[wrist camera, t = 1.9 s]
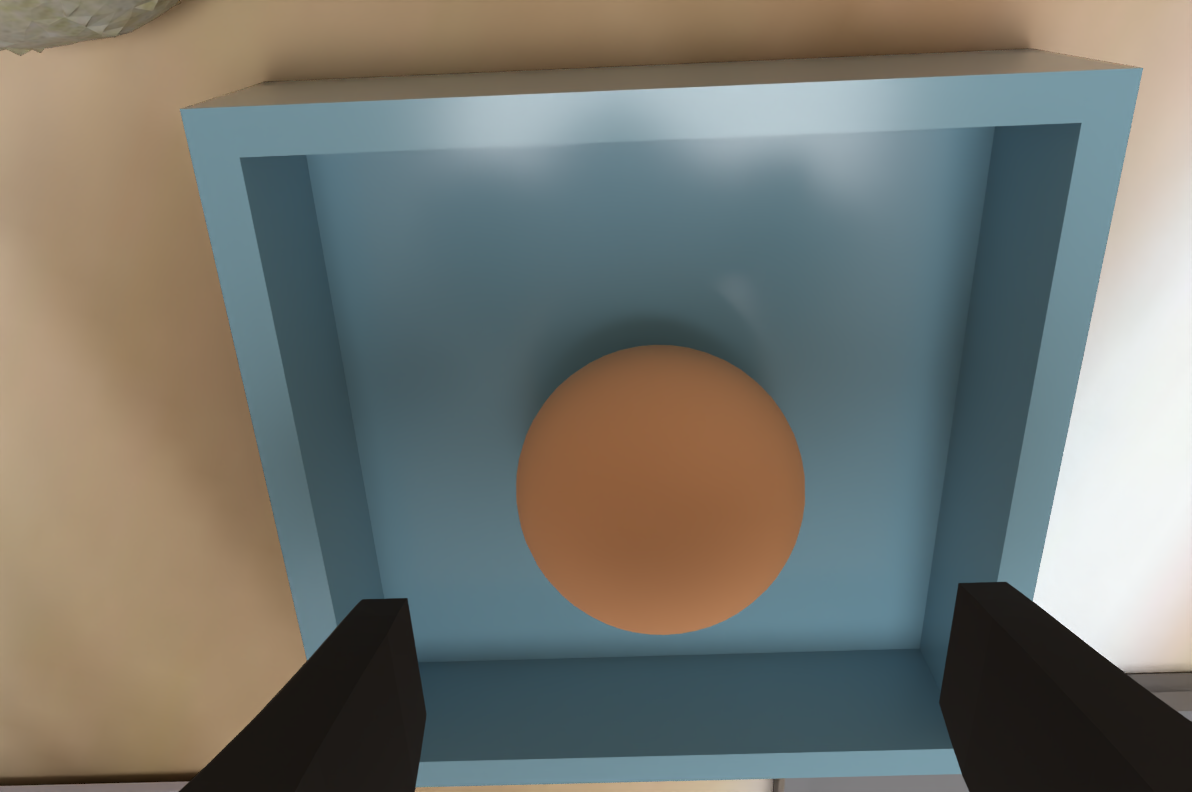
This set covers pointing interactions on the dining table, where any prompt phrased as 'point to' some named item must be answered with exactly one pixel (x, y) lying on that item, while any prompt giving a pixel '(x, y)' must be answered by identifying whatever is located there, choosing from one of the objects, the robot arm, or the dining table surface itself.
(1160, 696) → the tray
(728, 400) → the ball
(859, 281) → the open square box
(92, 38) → the sea urchin shell
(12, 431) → the dining table surface
